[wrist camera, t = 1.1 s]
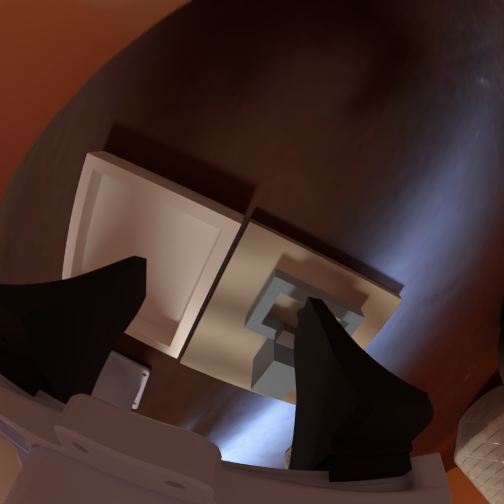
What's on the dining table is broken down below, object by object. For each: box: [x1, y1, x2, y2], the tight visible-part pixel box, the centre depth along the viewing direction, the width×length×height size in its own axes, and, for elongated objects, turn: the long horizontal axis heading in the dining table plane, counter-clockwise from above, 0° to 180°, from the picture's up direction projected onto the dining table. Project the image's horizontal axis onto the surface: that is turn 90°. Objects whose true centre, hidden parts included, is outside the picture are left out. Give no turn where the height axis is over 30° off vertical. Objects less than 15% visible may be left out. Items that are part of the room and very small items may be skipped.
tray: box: [62, 151, 245, 358], centre depth 22 cm, size 14×13×2 cm
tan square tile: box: [180, 218, 403, 405], centre depth 23 cm, size 16×15×6 cm
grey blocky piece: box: [244, 268, 365, 400], centre depth 22 cm, size 9×8×4 cm
